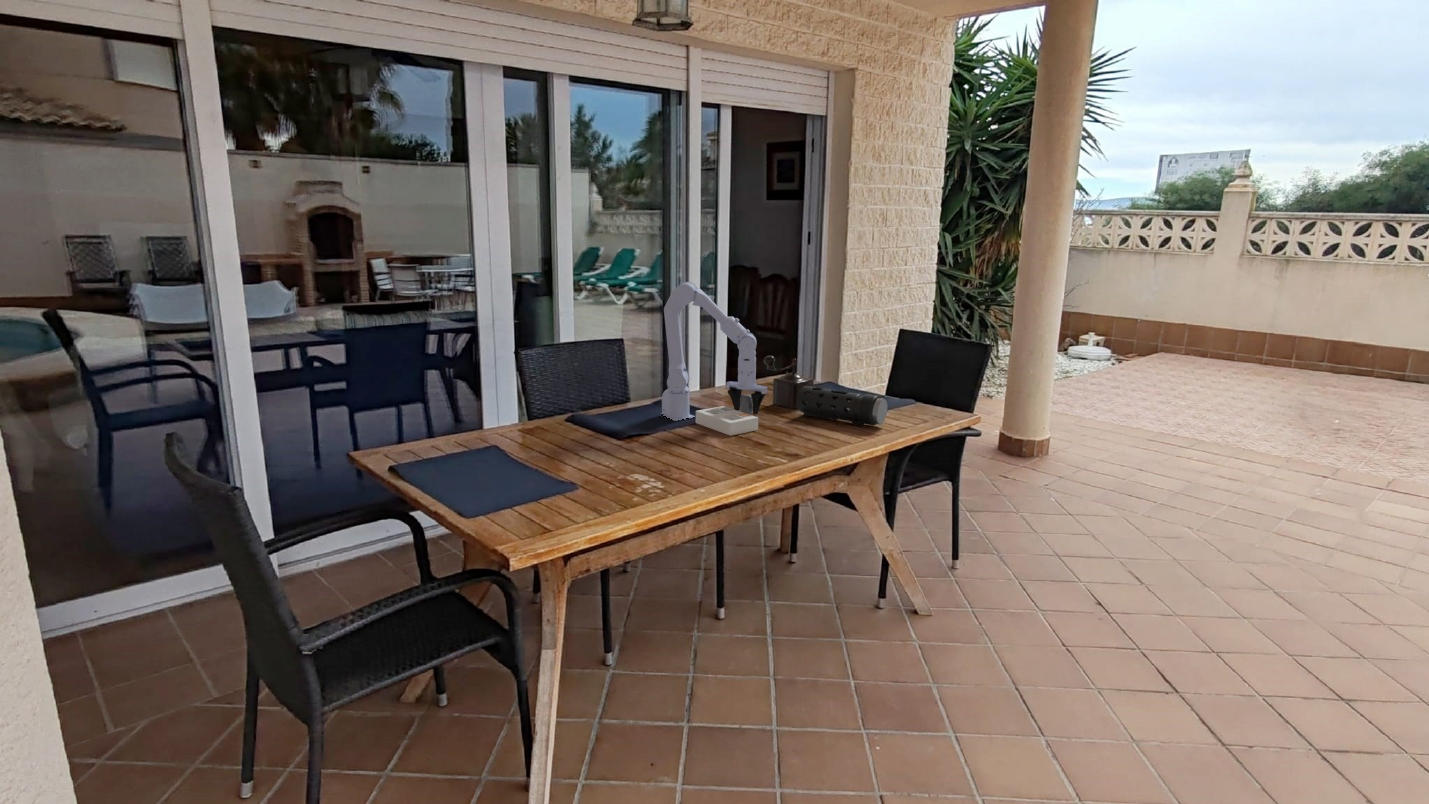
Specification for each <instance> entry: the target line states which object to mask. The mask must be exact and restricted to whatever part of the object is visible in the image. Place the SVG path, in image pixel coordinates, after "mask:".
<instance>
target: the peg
mask: <svg viewBox="0 0 1429 804" xmlns="http://www.w3.org/2000/svg"><path fill="white" fill-rule="evenodd" d="M739 411H740V412H743V413H747V414H750V415H752V416H753V402H752V397H751V394H748V393H744V394H742V393H741V395H740V410H739Z"/></svg>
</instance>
